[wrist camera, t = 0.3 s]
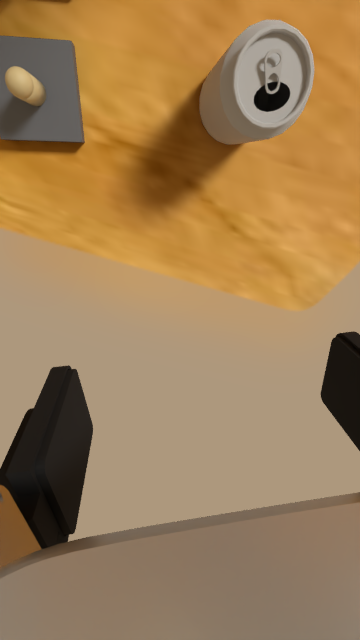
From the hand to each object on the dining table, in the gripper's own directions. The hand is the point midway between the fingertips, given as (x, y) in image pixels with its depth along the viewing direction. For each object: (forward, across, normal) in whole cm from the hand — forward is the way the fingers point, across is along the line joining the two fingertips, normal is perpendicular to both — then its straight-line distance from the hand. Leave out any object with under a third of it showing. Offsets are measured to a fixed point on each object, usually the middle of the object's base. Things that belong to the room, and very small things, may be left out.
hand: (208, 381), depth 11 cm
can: (+31, -9, -12) cm, 34 cm away
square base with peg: (+30, +11, -14) cm, 35 cm away
